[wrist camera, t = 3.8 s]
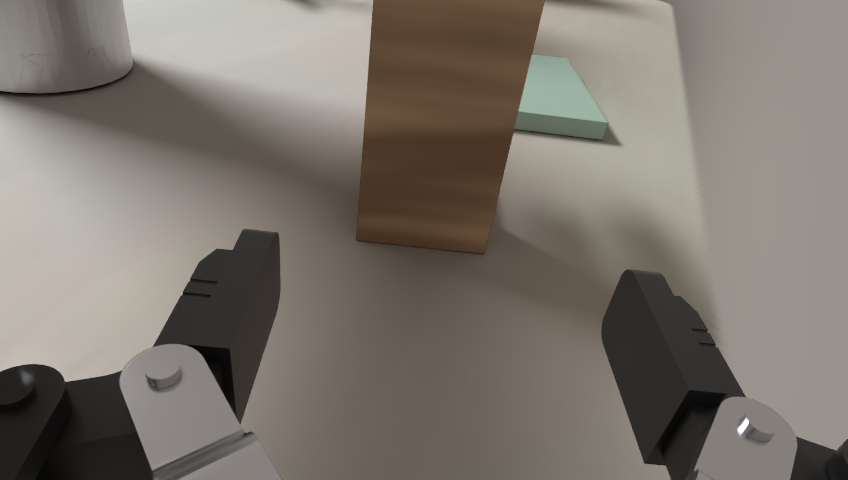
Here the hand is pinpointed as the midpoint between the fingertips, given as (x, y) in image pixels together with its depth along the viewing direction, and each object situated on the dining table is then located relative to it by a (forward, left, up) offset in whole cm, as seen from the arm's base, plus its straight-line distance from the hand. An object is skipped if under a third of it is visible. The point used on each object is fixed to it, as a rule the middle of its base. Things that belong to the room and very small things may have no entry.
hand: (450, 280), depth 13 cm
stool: (-11, +10, -6) cm, 16 cm away
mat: (-18, +25, -6) cm, 31 cm away
